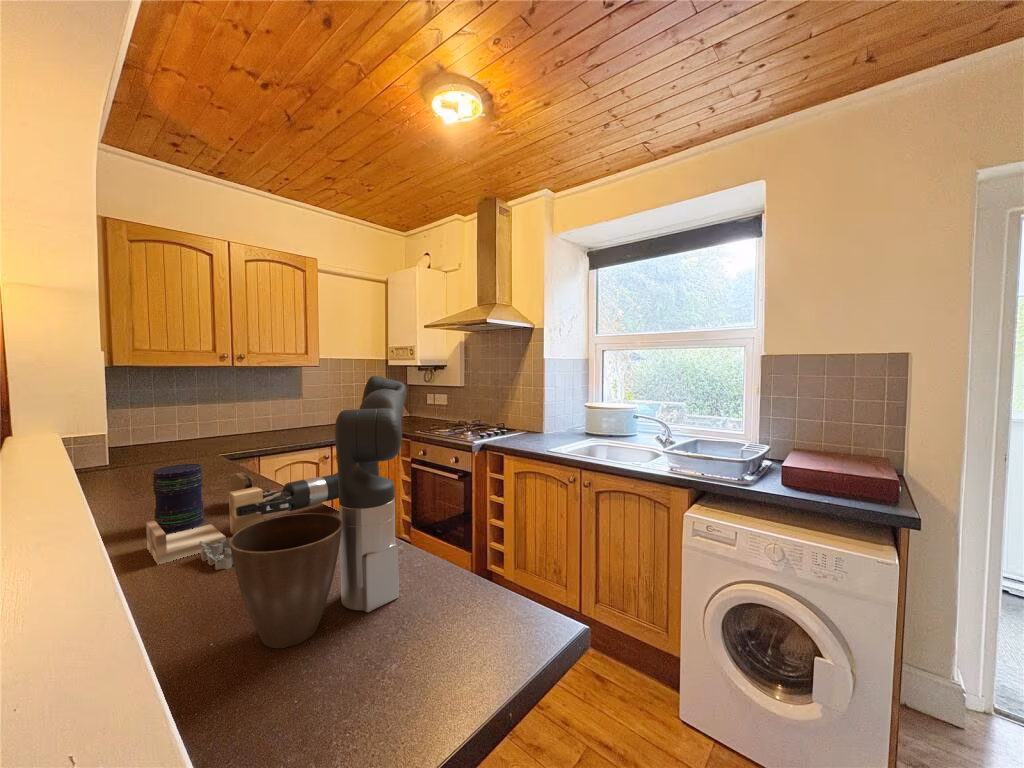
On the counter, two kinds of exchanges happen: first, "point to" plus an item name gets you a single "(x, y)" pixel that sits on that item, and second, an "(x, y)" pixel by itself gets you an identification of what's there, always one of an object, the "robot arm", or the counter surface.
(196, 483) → the storage jar
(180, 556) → the birch board
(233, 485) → the wooden carving
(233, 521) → the oak plank block
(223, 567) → the egg carton
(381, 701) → the counter surface
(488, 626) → the counter surface
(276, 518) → the plant pot
